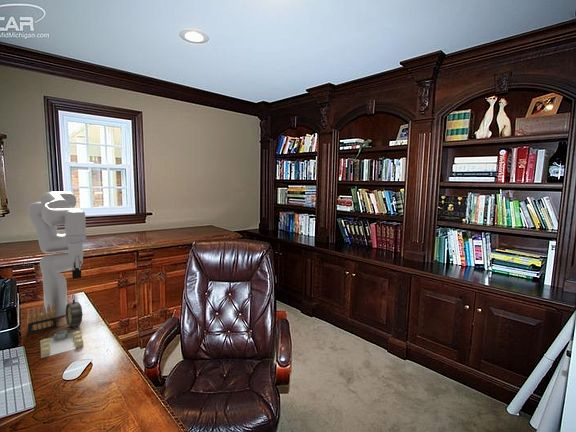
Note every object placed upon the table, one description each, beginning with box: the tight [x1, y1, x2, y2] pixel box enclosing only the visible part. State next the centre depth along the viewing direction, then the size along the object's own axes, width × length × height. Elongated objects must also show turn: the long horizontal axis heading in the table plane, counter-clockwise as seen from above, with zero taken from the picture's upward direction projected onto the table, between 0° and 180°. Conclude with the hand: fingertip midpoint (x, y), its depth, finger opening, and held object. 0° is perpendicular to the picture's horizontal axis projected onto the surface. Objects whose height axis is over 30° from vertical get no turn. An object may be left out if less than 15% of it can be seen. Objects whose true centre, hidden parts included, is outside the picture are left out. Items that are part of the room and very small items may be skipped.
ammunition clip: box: [26, 303, 58, 335], centre depth 139 cm, size 11×2×12 cm, turn 135°
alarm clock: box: [65, 293, 84, 331], centre depth 143 cm, size 11×5×16 cm, turn 48°
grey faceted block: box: [53, 329, 69, 341], centre depth 132 cm, size 4×5×2 cm
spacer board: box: [40, 330, 85, 359], centre depth 128 cm, size 17×14×3 cm
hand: (76, 278), depth 135 cm, fingers closed
